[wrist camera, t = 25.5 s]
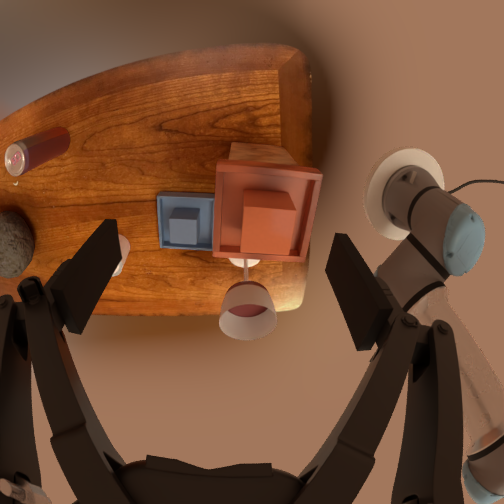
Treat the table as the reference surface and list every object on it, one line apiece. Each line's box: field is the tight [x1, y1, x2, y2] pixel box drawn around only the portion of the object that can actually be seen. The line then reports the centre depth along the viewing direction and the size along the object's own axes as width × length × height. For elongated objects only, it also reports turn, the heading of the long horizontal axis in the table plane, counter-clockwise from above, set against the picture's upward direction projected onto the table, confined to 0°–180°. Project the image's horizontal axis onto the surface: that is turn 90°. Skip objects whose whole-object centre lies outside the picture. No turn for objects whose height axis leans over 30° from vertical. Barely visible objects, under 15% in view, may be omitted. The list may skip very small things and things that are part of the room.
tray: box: [157, 192, 215, 251], centre depth 51 cm, size 11×11×2 cm
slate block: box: [169, 208, 200, 245], centre depth 50 cm, size 5×5×5 cm
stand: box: [213, 142, 323, 262], centre depth 38 cm, size 11×11×22 cm
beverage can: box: [5, 127, 70, 176], centre depth 35 cm, size 6×6×15 cm
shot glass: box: [112, 234, 130, 276], centre depth 52 cm, size 7×7×7 cm
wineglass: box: [219, 258, 277, 340], centre depth 48 cm, size 8×9×20 cm
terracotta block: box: [240, 189, 297, 255], centre depth 28 cm, size 5×5×5 cm
